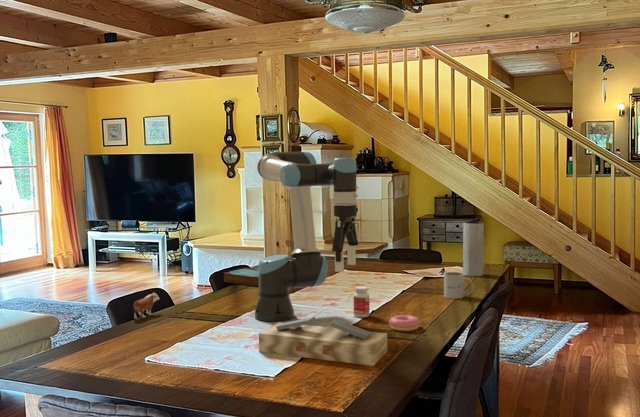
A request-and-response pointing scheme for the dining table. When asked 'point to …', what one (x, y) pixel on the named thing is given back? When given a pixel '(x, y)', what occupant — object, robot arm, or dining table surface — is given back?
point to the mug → (455, 285)
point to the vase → (473, 248)
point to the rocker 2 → (350, 329)
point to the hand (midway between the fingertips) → (345, 268)
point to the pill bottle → (361, 302)
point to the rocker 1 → (295, 323)
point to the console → (323, 344)
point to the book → (243, 277)
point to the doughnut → (404, 323)
